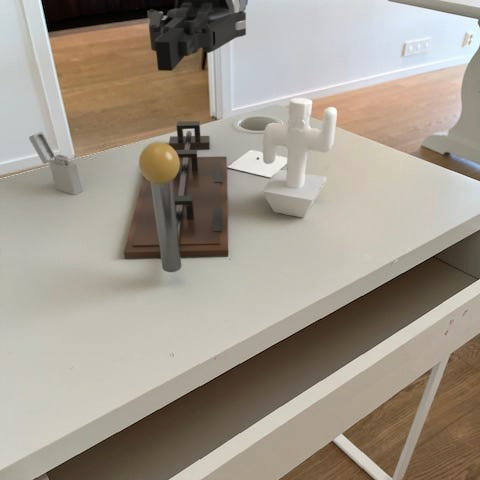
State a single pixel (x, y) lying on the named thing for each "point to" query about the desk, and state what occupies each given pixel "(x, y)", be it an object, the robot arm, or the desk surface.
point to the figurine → (296, 157)
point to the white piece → (258, 164)
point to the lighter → (57, 165)
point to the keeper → (196, 140)
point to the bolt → (166, 196)
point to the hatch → (186, 212)
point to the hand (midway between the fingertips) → (163, 56)
